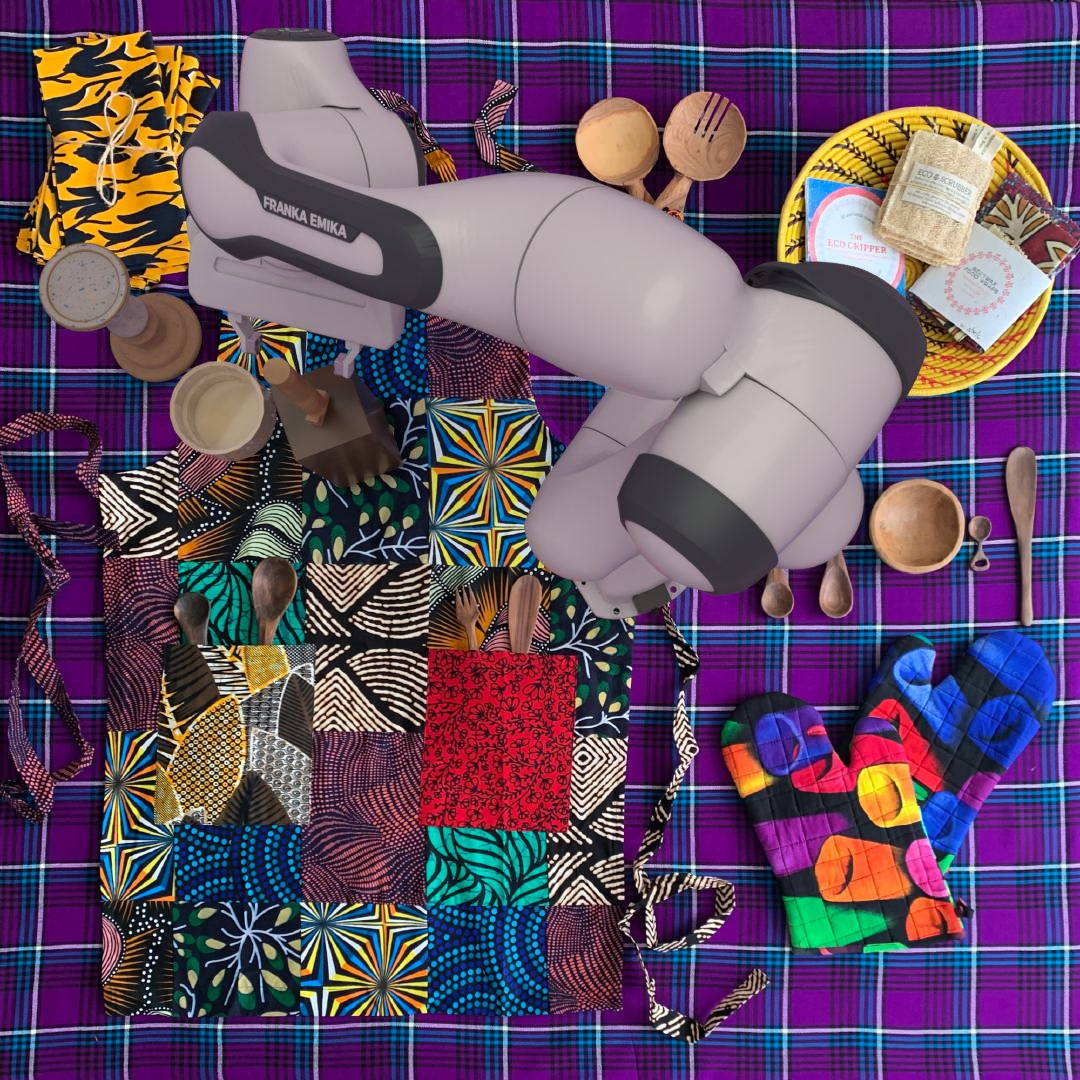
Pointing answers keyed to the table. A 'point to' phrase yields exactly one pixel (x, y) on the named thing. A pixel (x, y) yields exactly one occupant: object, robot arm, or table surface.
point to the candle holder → (120, 312)
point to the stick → (297, 389)
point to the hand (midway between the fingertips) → (298, 362)
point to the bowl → (222, 411)
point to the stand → (341, 431)
